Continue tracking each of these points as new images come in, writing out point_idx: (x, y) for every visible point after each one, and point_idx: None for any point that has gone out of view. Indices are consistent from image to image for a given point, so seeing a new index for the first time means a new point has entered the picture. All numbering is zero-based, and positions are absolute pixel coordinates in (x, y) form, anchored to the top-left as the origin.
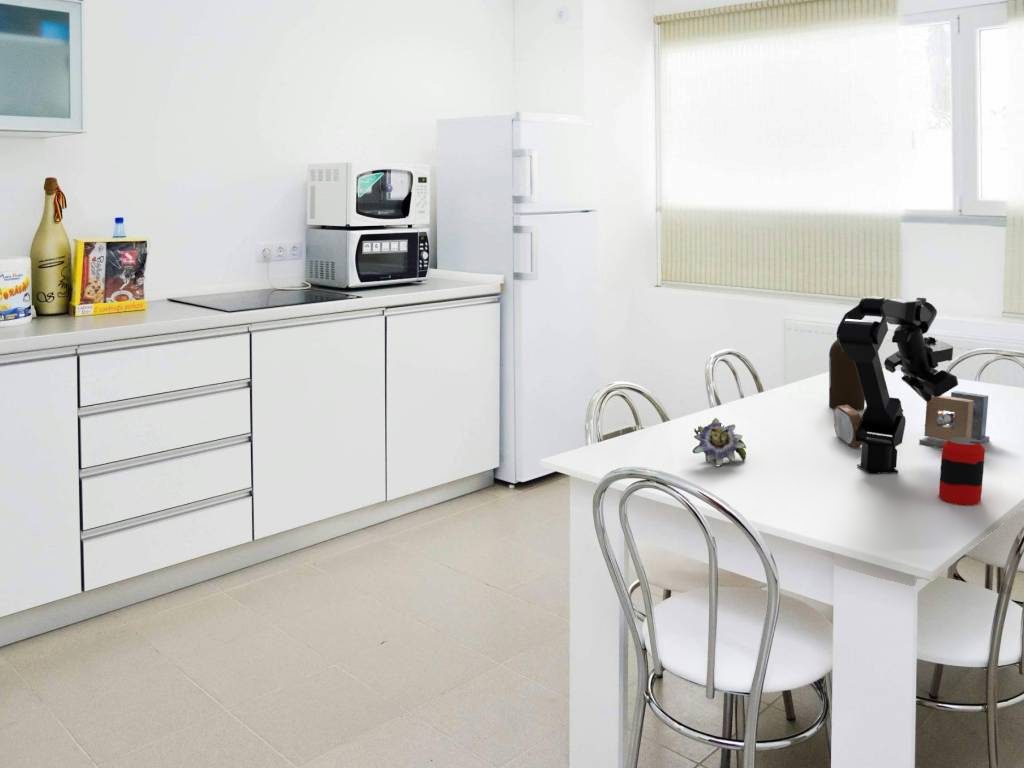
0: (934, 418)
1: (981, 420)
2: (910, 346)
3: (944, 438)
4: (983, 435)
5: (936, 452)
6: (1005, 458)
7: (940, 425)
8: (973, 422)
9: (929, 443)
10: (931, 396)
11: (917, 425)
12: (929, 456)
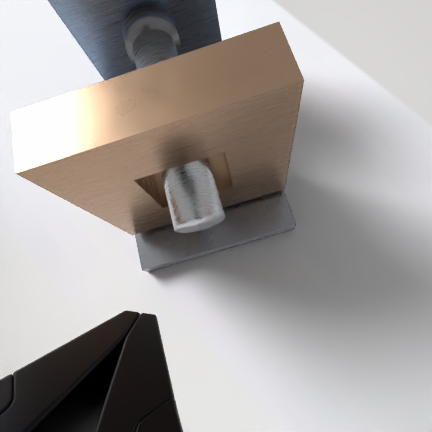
0: (137, 203)
1: (216, 25)
2: None
3: None
4: None
5: (265, 315)
6: (429, 161)
7: (164, 190)
8: (189, 46)
9: (182, 260)
10: (160, 336)
11: (3, 108)
12: (299, 391)
